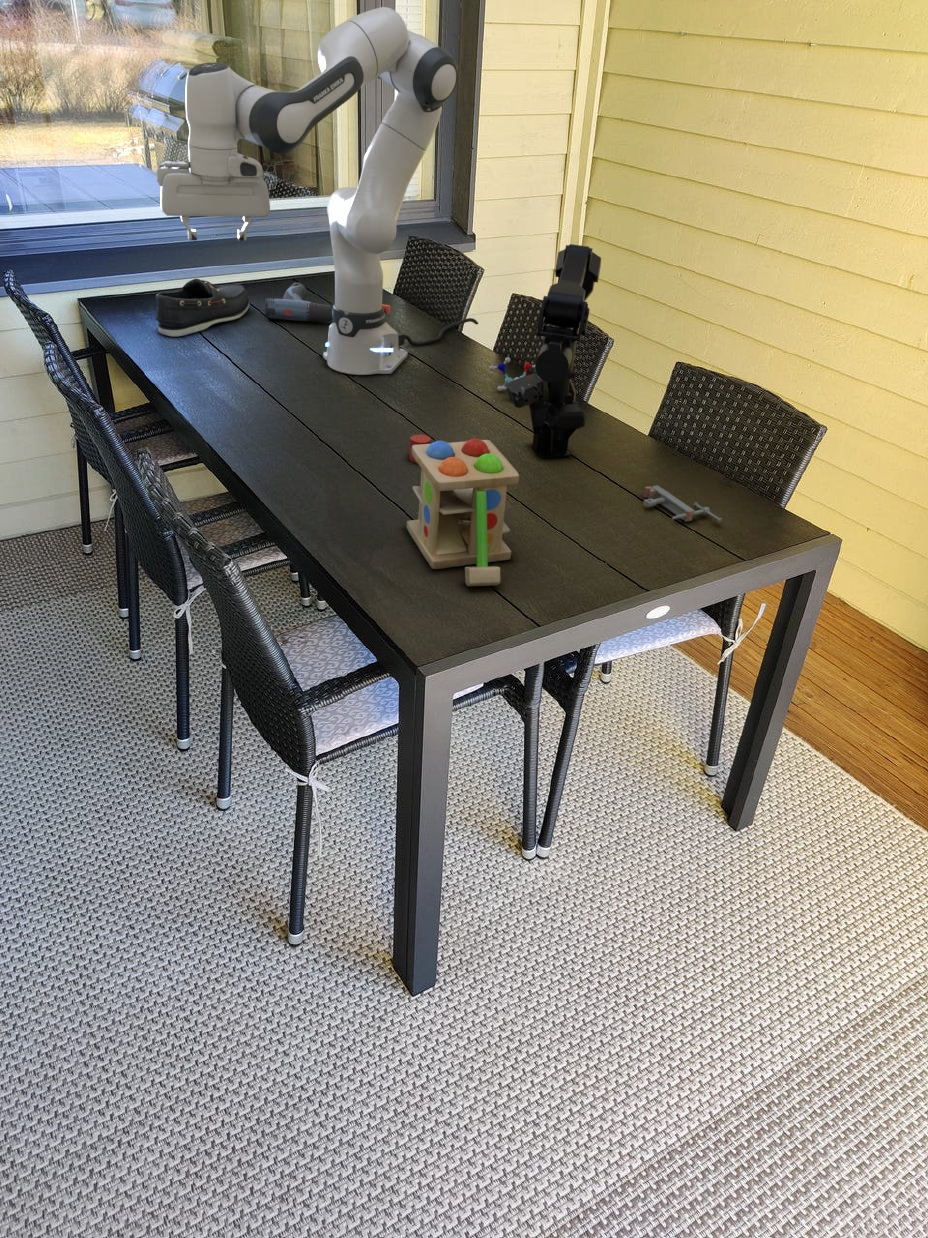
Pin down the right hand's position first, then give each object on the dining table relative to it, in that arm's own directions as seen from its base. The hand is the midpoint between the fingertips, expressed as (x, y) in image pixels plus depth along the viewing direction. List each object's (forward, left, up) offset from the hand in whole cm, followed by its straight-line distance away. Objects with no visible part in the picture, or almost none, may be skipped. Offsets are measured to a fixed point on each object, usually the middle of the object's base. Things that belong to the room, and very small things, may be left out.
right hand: (545, 443), depth 184 cm
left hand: (+54, -46, +25) cm, 75 cm away
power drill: (+26, -110, -10) cm, 113 cm away
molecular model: (-12, -49, -10) cm, 51 cm away
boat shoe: (+53, -105, -10) cm, 118 cm away
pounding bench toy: (+22, +21, -10) cm, 32 cm away
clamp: (-23, +12, -10) cm, 28 cm away
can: (+19, -17, -10) cm, 27 cm away
